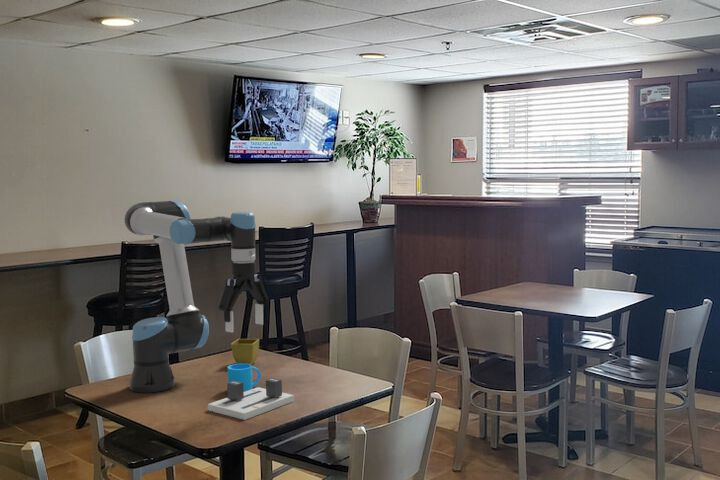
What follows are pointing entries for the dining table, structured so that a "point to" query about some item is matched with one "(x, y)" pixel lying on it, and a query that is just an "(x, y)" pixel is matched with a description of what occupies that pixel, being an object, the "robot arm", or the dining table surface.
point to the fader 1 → (235, 390)
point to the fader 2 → (273, 387)
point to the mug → (243, 375)
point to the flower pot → (245, 350)
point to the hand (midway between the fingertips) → (244, 327)
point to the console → (250, 404)
